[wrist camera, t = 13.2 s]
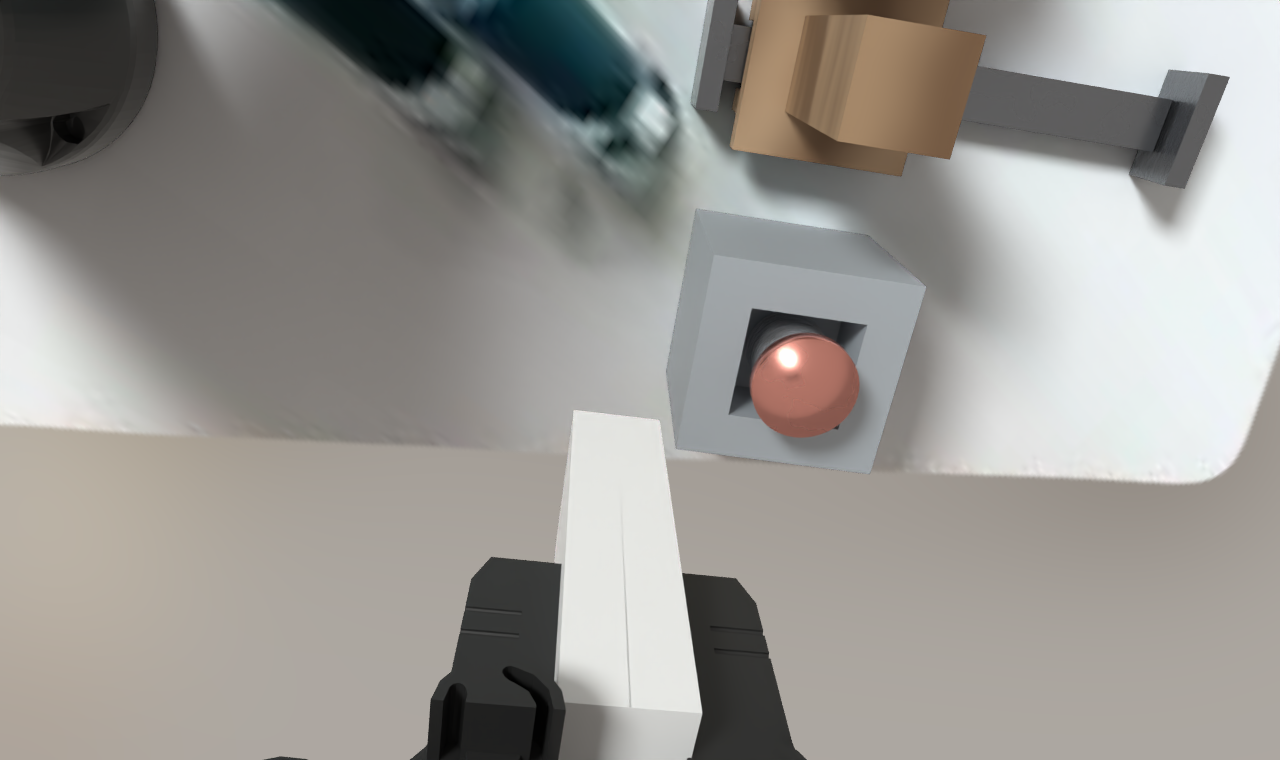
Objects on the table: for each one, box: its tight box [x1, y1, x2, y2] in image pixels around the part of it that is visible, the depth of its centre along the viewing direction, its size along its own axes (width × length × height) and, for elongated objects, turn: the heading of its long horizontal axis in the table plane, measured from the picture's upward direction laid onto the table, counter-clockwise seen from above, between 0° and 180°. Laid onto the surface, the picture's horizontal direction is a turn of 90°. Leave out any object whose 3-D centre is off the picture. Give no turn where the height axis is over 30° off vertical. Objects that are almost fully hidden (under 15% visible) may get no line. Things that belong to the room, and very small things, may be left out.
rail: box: [691, 0, 1230, 189], centre depth 39 cm, size 23×5×3 cm, turn 81°
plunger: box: [746, 312, 860, 438], centre depth 37 cm, size 4×4×5 cm
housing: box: [666, 209, 926, 474], centre depth 40 cm, size 9×9×9 cm
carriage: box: [730, 0, 986, 176], centre depth 34 cm, size 8×8×13 cm
